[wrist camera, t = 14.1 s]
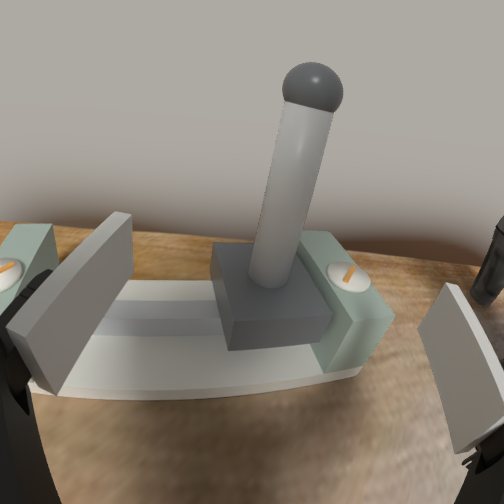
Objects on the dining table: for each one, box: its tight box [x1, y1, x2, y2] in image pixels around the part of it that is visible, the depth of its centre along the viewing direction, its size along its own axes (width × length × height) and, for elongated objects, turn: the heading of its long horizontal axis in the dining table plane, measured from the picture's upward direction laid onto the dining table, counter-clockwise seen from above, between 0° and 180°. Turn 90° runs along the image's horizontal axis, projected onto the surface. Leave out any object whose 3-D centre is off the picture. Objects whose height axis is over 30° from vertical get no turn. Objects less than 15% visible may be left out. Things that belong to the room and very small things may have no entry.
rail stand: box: [0, 224, 396, 400], centre depth 23 cm, size 30×12×8 cm, turn 104°
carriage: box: [210, 62, 343, 351], centre depth 20 cm, size 7×9×18 cm
